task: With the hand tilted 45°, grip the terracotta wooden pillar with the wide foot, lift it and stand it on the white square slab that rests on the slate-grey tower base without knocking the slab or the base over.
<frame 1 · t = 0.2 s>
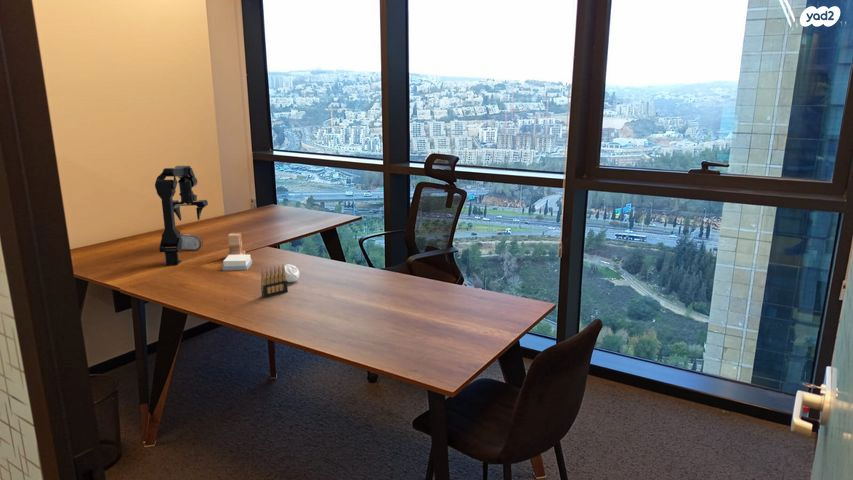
hand: (189, 220, 299), 15 cm above the table, tool pointing down, fingers open, 9 cm apart
tower base: (237, 267, 272), on the table, touching white square slab
pillar: (236, 257, 286), on the table
ammunition clip: (274, 294, 237), on the table
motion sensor: (290, 282, 251), on the table
tin: (188, 250, 299), on the table
white square slab: (237, 262, 271), point 2 cm above the table, touching tower base
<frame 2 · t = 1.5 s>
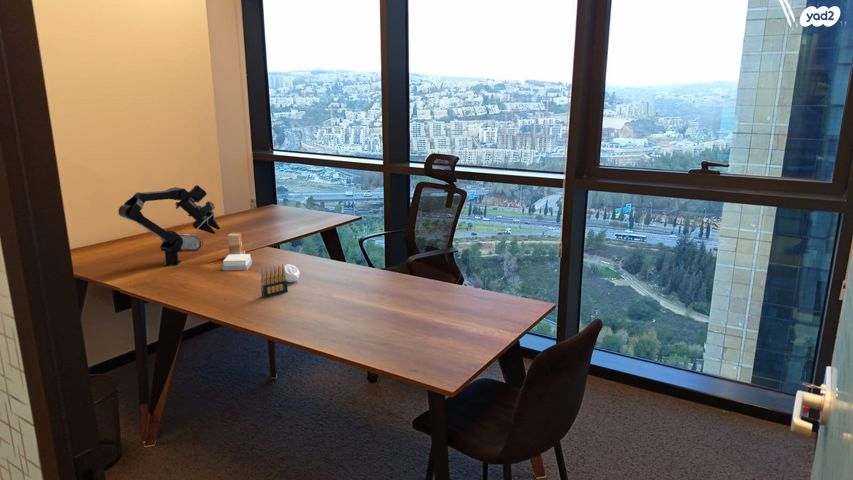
hand: (217, 231, 282), 13 cm above the table, tool tilted 45°, fingers open, 9 cm apart
tower base: (237, 267, 272), on the table
white square slab: (237, 262, 271), point 2 cm above the table
everything else where it was.
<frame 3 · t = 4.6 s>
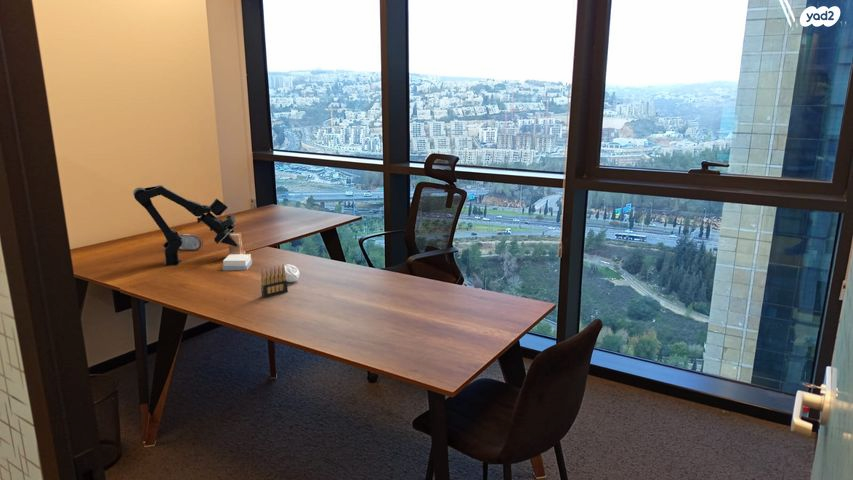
hand: (238, 244, 284), 7 cm above the table, tool tilted 45°, fingers closed on pillar, 5 cm apart
tower base: (237, 267, 272), on the table, touching white square slab
pillar: (236, 257, 286), on the table, touching gripper
white square slab: (237, 262, 271), point 2 cm above the table, touching tower base
everything else where it was.
when the fingers open (12 cm above the table, at t = 8.4 s): pillar moves 1 cm, point 4 cm above the table.
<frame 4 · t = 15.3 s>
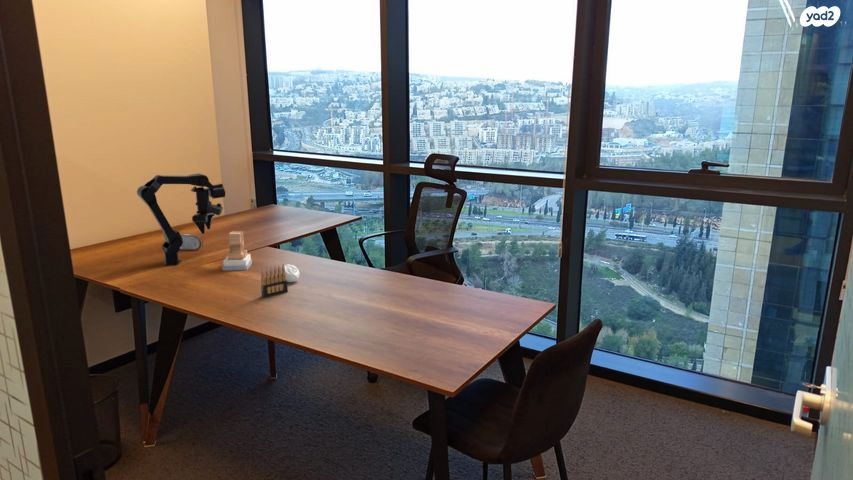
hand: (206, 231, 283), 13 cm above the table, tool pointing down, fingers open, 9 cm apart
pillar: (237, 257, 271), point 4 cm above the table
everything else where it was.
at the end: pillar 0.9 cm off-centre on the white square slab, point 2.7 cm above the white square slab's base; pillar tilted 3°; white square slab 0.4 cm off-centre on the tower base, point 2.5 cm above the tower base's base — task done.
